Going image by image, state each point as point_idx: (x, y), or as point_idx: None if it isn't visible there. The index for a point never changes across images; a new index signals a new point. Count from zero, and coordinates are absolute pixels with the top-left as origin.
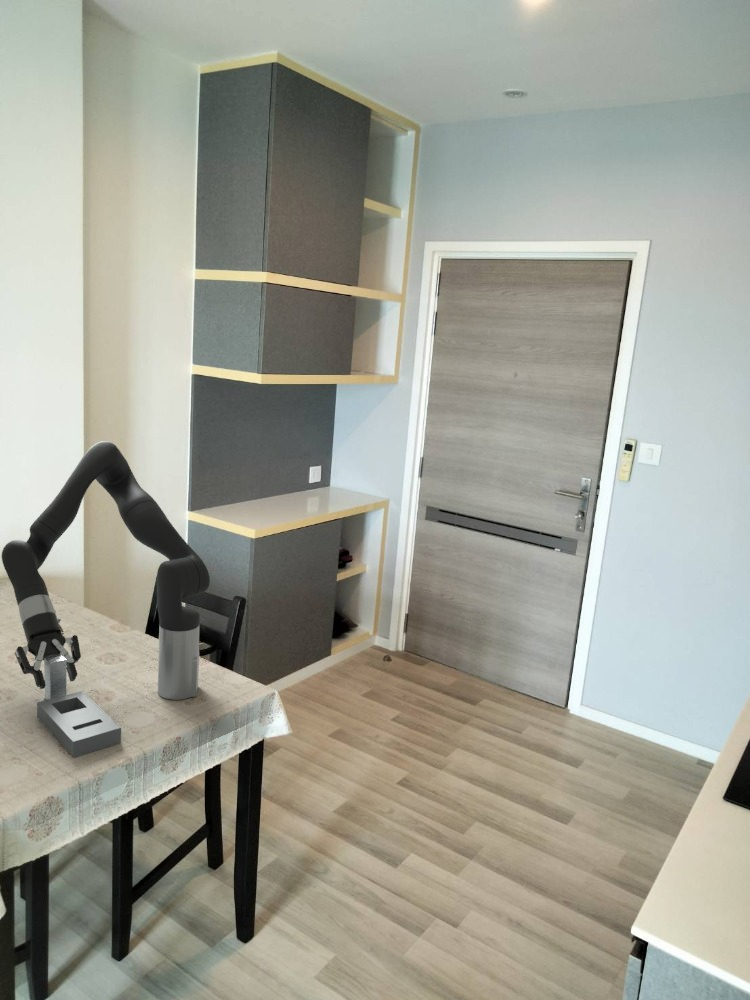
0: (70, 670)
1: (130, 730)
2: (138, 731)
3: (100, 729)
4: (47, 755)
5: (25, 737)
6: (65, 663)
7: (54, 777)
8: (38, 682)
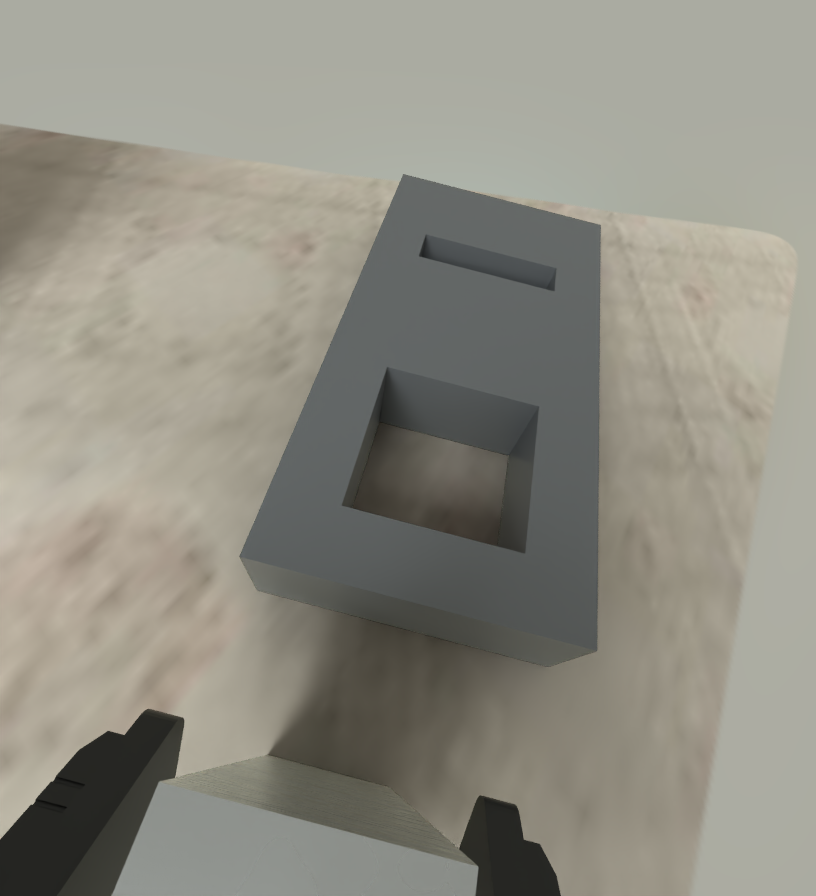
0: (117, 812)
1: (307, 261)
2: (293, 240)
3: (472, 210)
4: (637, 347)
5: (672, 515)
6: (194, 782)
7: (659, 256)
8: (548, 879)
